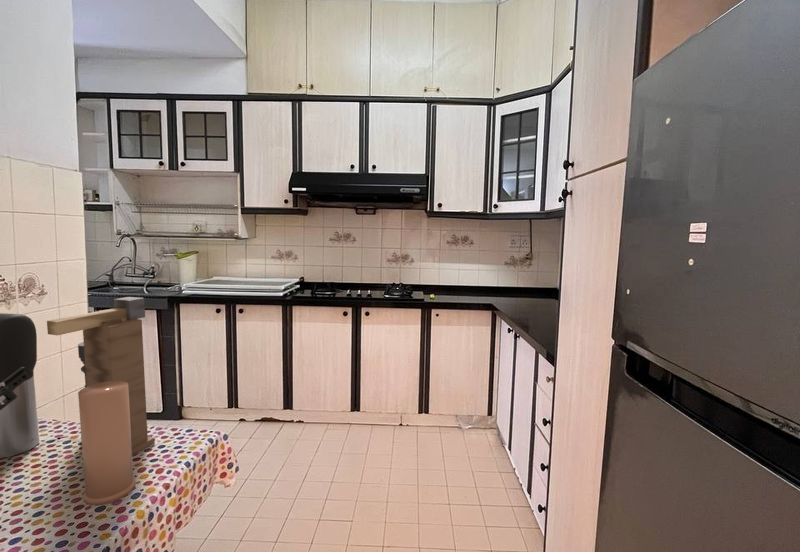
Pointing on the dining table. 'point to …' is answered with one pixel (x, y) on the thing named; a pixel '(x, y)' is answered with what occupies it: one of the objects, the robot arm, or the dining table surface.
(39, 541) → the dining table surface
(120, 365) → the stand
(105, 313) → the mallet
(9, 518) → the dining table surface
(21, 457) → the dining table surface
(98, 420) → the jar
